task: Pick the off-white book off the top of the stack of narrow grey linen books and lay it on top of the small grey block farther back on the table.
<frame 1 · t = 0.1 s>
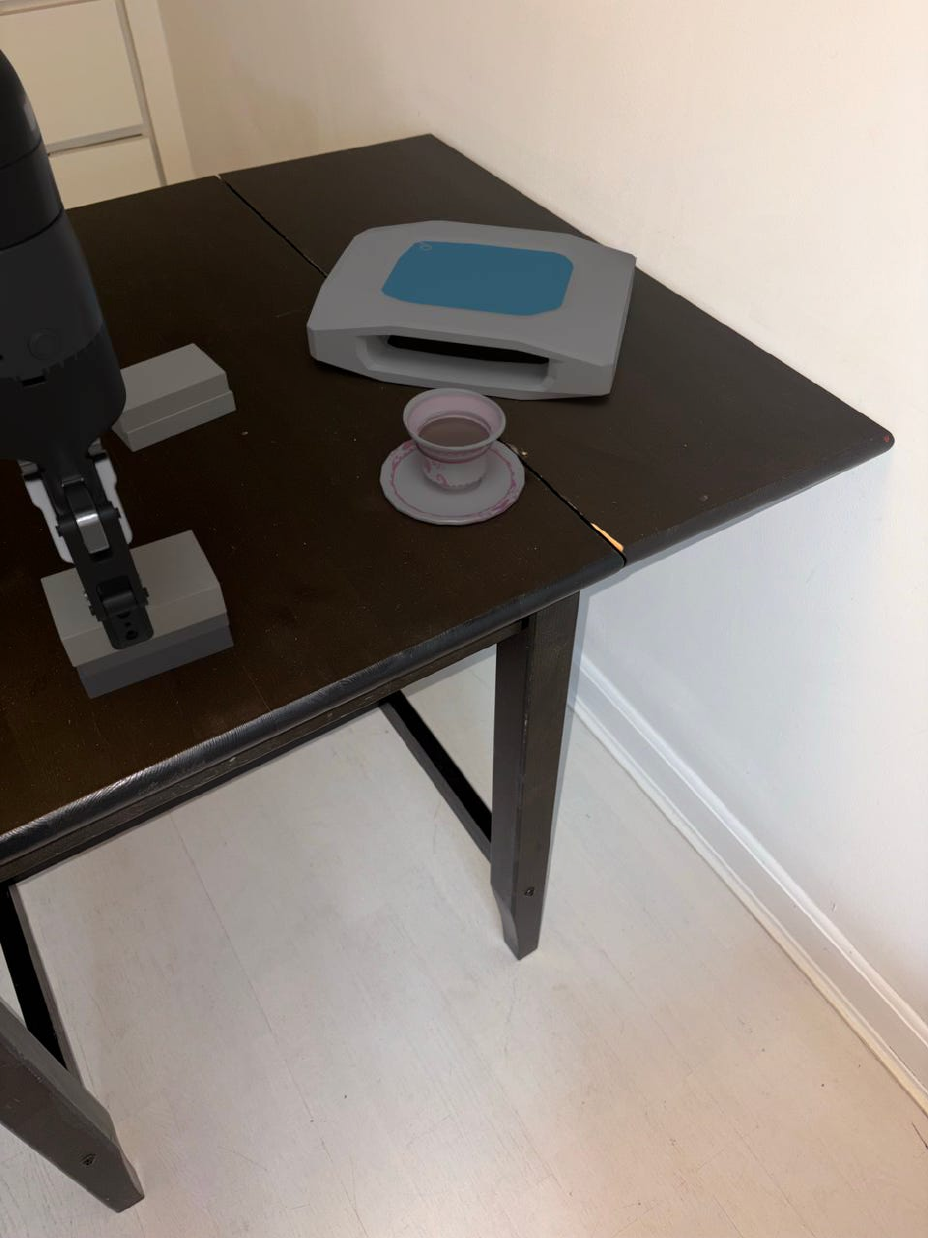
hand: (113, 589, 52), 13 cm above the table, tool pointing down, fingers open, 8 cm apart
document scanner: (479, 335, 95), on the table
white book: (139, 609, 63), point 4 cm above the table, touching grey books
grey books: (155, 652, 66), on the table
teacup: (452, 481, 79), on the table
grey block: (170, 415, 85), on the table
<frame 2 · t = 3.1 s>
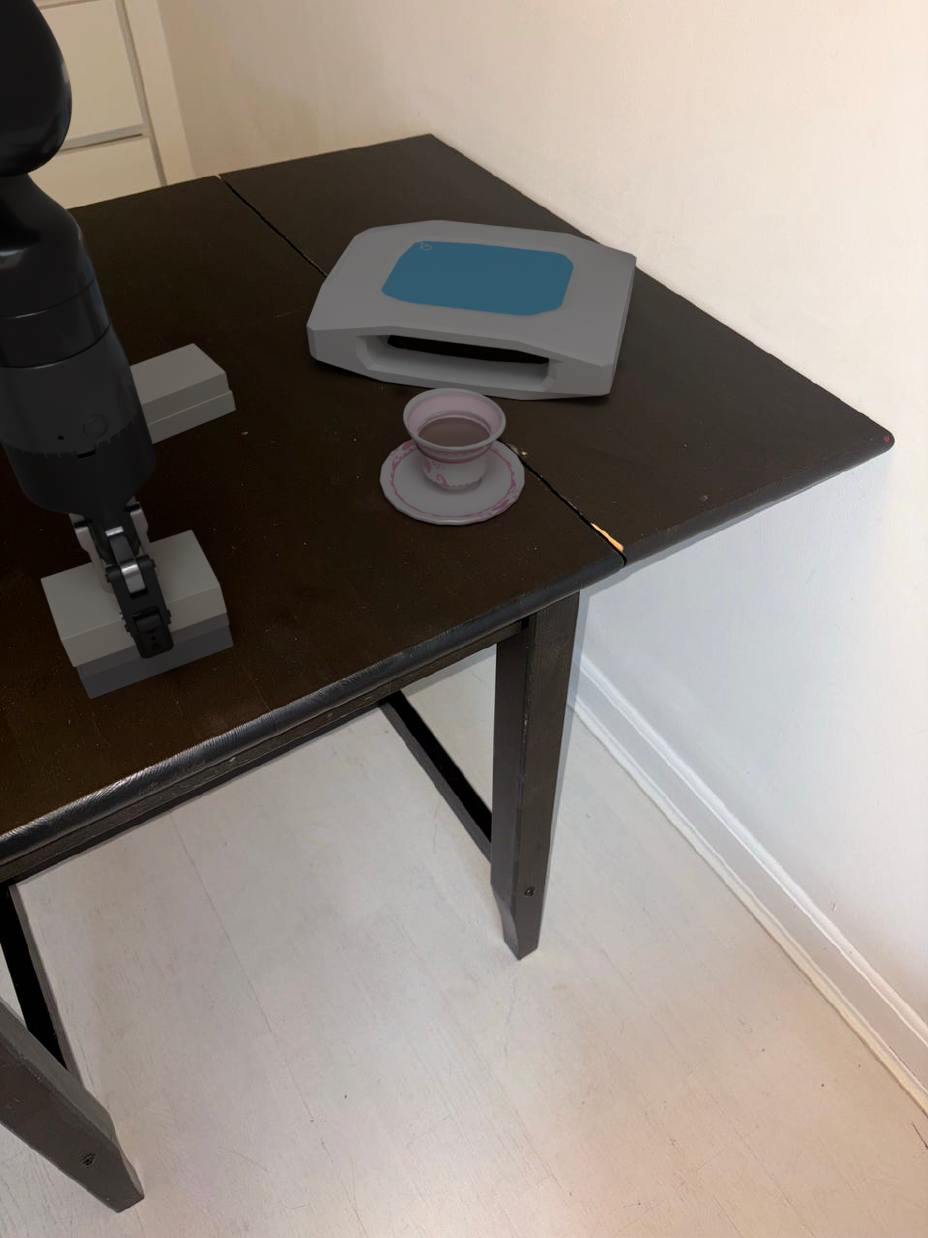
hand: (143, 617, 63), 4 cm above the table, tool pointing down, fingers closed on white book, 6 cm apart
white book: (139, 609, 63), point 4 cm above the table, touching grey books, gripper
everything else where it was.
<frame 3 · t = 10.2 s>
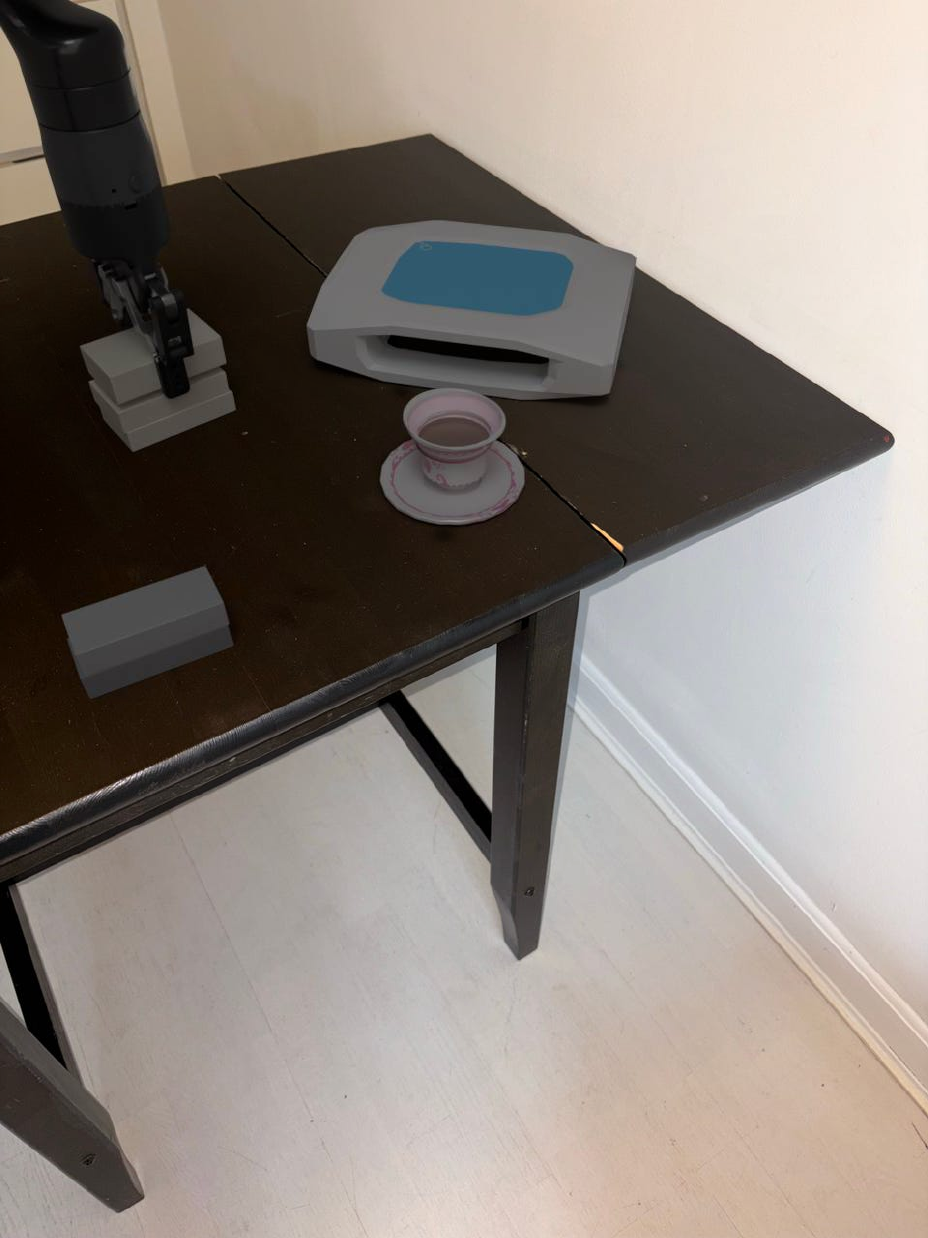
hand: (160, 376, 82), 4 cm above the table, tool pointing down, fingers closed on white book, 6 cm apart
white book: (158, 368, 82), point 5 cm above the table, touching gripper
everything else where it was.
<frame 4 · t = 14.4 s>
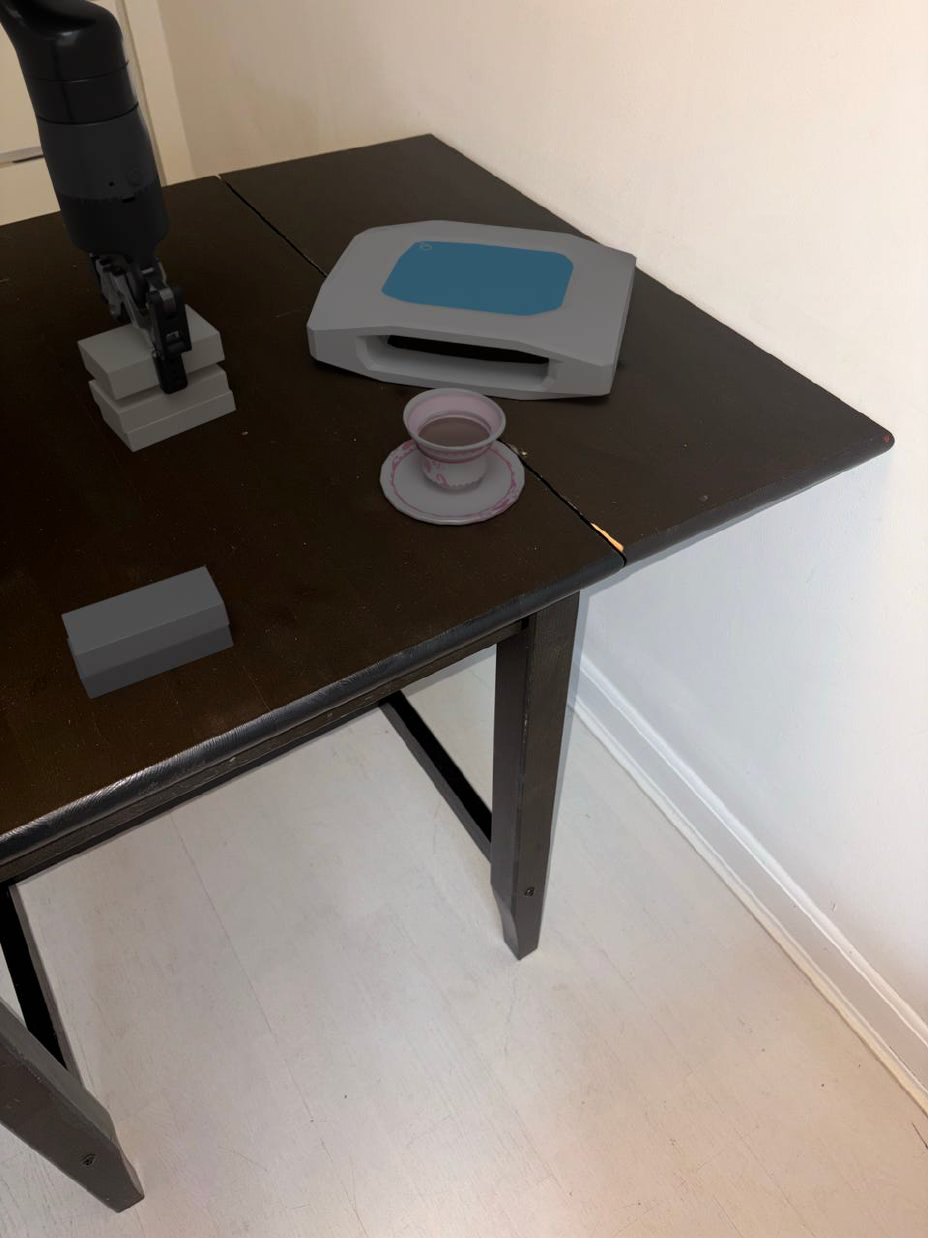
hand: (157, 371, 82), 4 cm above the table, tool pointing down, fingers closed on white book, 6 cm apart
white book: (156, 364, 81), point 5 cm above the table, touching gripper
everything else where it was.
when the fingers open (5 cm above the table, at t = 18.4 s): white book drops 2 cm, resting on grey block.
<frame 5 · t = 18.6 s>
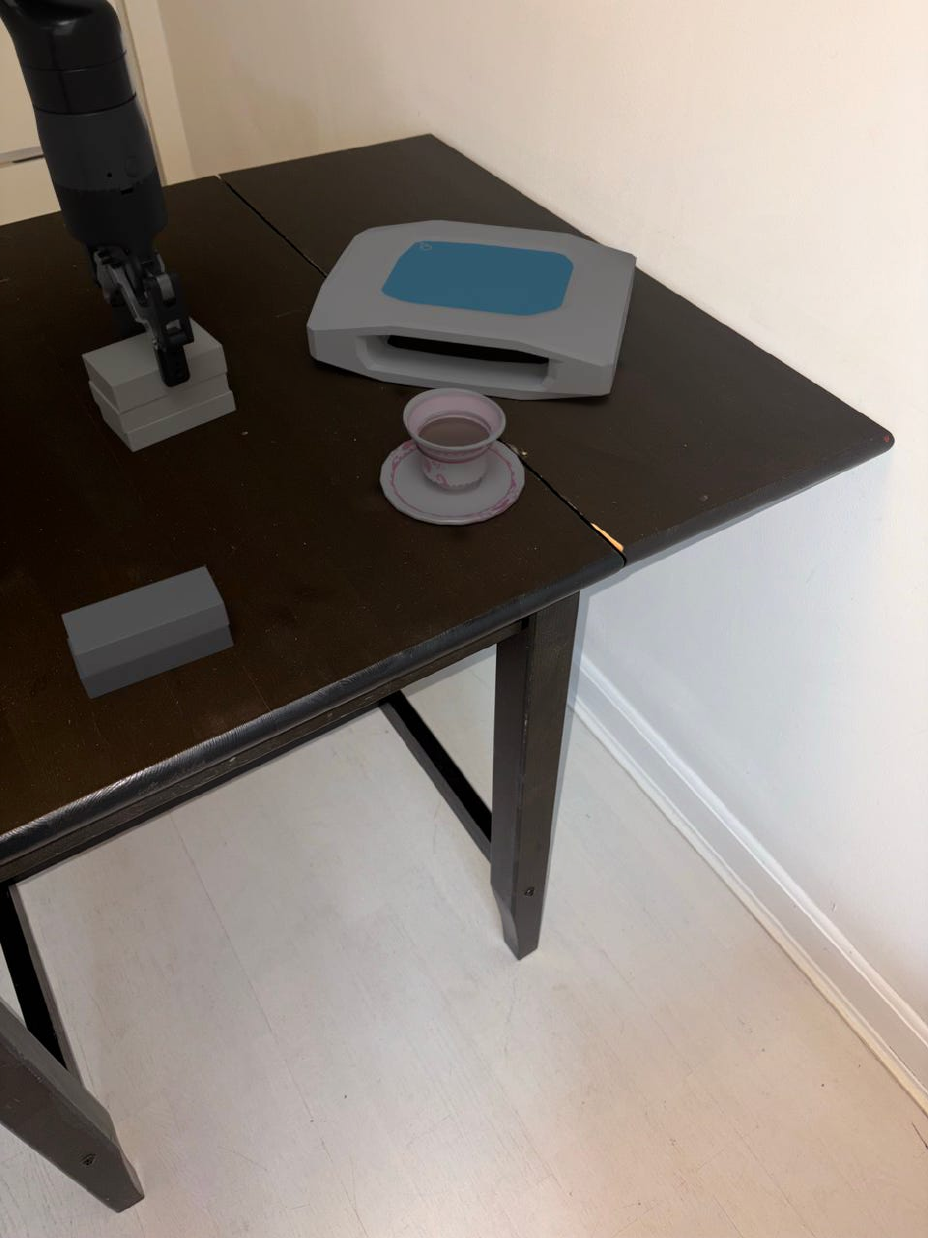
hand: (155, 361, 81), 5 cm above the table, tool pointing down, fingers open, 7 cm apart
white book: (159, 376, 82), point 4 cm above the table, touching grey block
everything else where it was.
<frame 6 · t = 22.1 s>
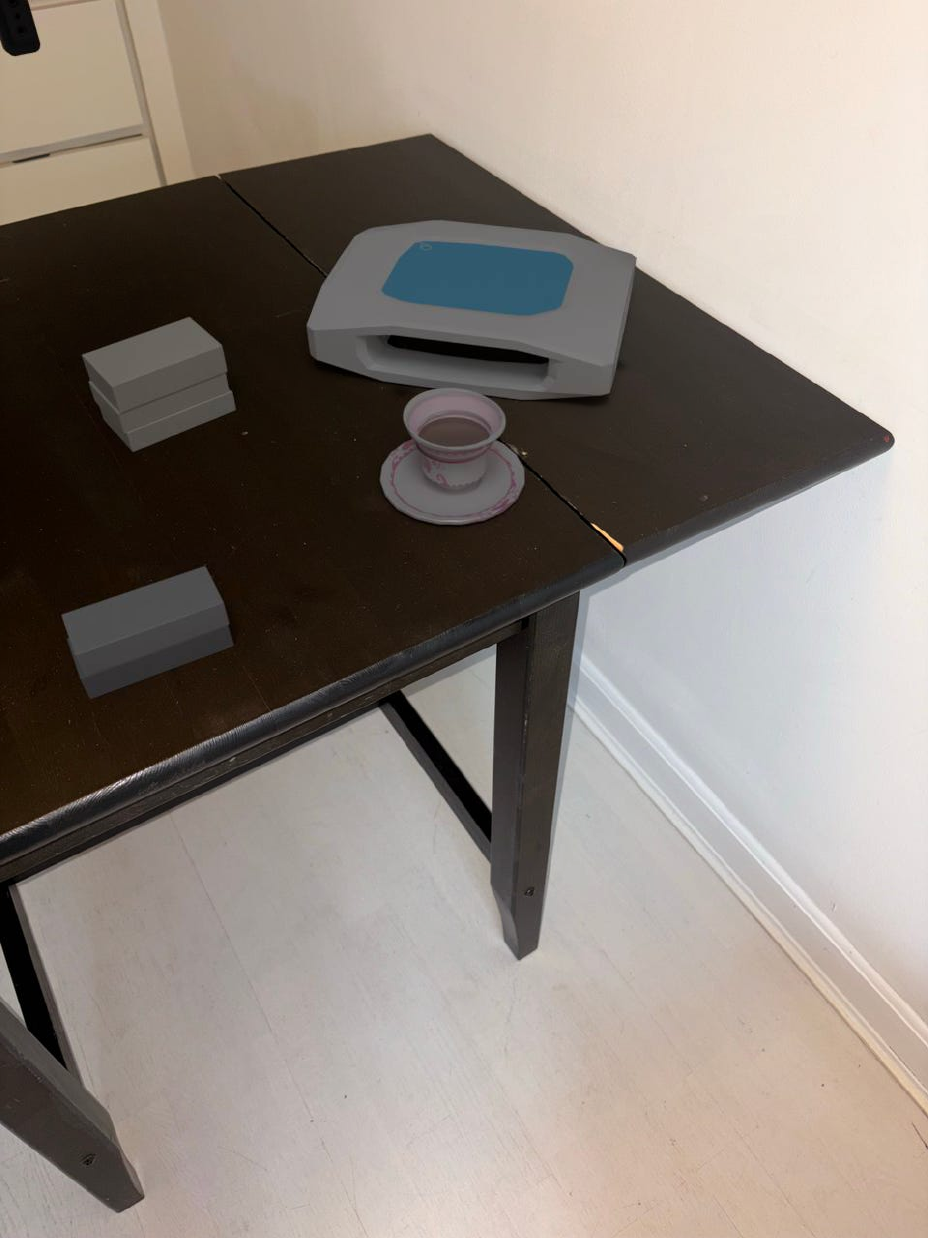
nothing on the table moved.
at the end: white book 0.0 cm off-centre on the grey block, point 4.0 cm above the grey block's base; white book tilted 0°; the gripper is holding nothing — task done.
